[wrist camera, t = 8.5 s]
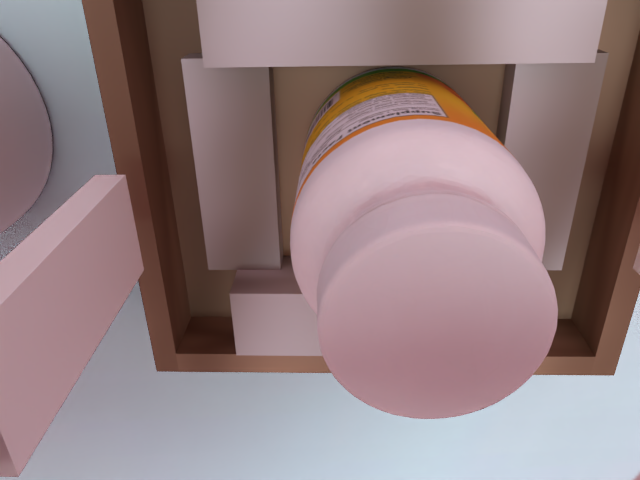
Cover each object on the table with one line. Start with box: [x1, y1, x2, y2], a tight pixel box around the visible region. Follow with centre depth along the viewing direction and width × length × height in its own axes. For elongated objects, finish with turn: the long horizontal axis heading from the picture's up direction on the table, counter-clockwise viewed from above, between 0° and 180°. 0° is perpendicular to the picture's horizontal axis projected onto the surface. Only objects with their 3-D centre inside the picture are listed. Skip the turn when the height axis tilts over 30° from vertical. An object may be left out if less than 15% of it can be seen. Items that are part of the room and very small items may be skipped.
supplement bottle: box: [290, 67, 558, 419], centre depth 13 cm, size 5×5×10 cm
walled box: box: [82, 0, 640, 375], centre depth 17 cm, size 16×14×3 cm
